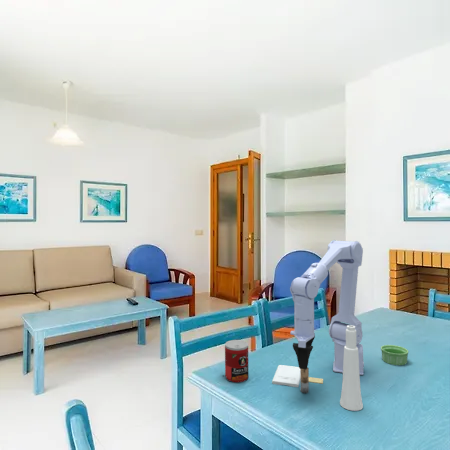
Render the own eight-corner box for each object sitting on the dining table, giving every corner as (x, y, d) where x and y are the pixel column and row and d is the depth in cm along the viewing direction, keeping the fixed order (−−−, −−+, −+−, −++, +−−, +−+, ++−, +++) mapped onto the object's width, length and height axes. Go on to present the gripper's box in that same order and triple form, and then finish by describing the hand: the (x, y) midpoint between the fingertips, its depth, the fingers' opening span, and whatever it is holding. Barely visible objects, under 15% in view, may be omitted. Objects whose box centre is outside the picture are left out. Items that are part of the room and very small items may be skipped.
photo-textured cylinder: (309, 390, 104) (308, 367, 104) (308, 393, 102) (308, 370, 101) (300, 388, 105) (300, 366, 104) (300, 392, 102) (300, 369, 102)
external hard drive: (302, 372, 117) (298, 389, 106) (278, 369, 120) (271, 385, 108) (302, 367, 117) (298, 384, 106) (278, 364, 120) (271, 380, 108)
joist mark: (323, 379, 111) (323, 378, 111) (322, 383, 108) (322, 383, 108) (307, 377, 112) (307, 376, 112) (306, 381, 109) (306, 380, 109)
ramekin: (411, 360, 125) (411, 348, 125) (404, 368, 118) (404, 356, 118) (385, 354, 131) (385, 342, 131) (377, 361, 124) (377, 349, 124)
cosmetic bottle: (342, 397, 99) (342, 321, 99) (364, 402, 96) (364, 324, 96) (337, 407, 94) (337, 327, 94) (361, 413, 91) (360, 330, 91)
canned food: (232, 385, 107) (232, 350, 107) (220, 374, 115) (220, 342, 114) (253, 379, 111) (253, 345, 111) (240, 370, 118) (240, 338, 118)
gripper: (293, 310, 111) (293, 352, 111) (287, 323, 97) (287, 371, 97) (316, 312, 109) (316, 355, 109) (313, 326, 95) (313, 374, 95)
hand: (304, 363), depth 103 cm, fingers open, 7 cm apart
